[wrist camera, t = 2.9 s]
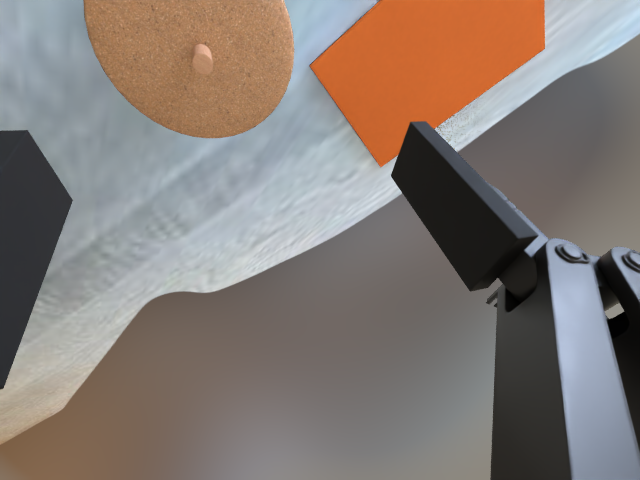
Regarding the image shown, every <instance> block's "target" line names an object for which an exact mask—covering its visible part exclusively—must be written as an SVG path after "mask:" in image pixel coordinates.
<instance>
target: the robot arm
mask: <svg viewBox="0 0 640 480" xmlns="http://www.w3.org/2000/svg"><path fill="white" fill-rule="evenodd" d="M391 177H392V178H393V180H394V181H395V183H396V184H397V186H398V187H399V189H400V190H401V191H402V193H403V194H404V196H405V197H406V199H407V200H408V201H409V203H410V204H411V206H412V208H413V209H414V210H415V212H416V213H417V215H418V216H419V218H420V219H421V221H422V222H423V224H424V225H425V226H426V228H427V229H428V231H429V232H430V234H431V235H432V237H433V238H434V239H435V241H436V243H437V244H438V245H439V247H440V248H441V250H442V251H443V252H444V254H445V256H446V257H447V259H448V260H449V261H450V263H451V264H452V266H453V267H454V268H455V270H456V271H457V273H458V275H459V276H460V277H461V279H462V280H463V282H464V283H465V285H466V286H467V288H468V289H469V291H475V290H479V289H484V288H488V287H489V286H490V285H491V284H492V283H493V282H494V281H495V280H496V278H499V279H500V281H501V282H502V283H503V284H502V285H501V286H500V287H499V288H498V289H497V290H496V291H495V292H494V293H493V294H492V295H491V296H490V297H489V298H488V299H487V302H486V303H487V304H490V303H491V302H492V301H493V300H494V299H495V298H498V300H497V303H496V304H495V305H494V307H497V326H496V353H495V354H496V355H495V377H494V403H493V404H494V405H493V431H492V455H491V480H640V253H638V252H637V251H635V250H631V249H628V248H625V247H615V248H612V249H611V250H610V251H608V252H607V253H606V254H605V255H603V256H602V257H601V256H593V255H587V254H586V253H585V252H584V251H583V250H582V249H581V248H579V247H578V246H577V245H575V244H573V243H571V242H569V241H567V240H563V239H559V238H554V239H553V238H552V239H550V240H549V239H548V238H547V237H546V236H545V235H544V234H543V233H542V232H541V231H540V230H539V229H538V228H537V227H536V226H535V225H534V224H533V223H532V222H531V221H530V220H529V219H528V218H527V217H526V216H525V215H524V214H523V213H522V212H521V211H520V210H517V207H516V206H515V205H514V204H513V203H512V202H509V199H508V198H506V196H505V195H504V194H503V193H502V192H501V191H499V190H498V189H497V188H495V187H493V186H492V185H490V184H489V183H487V182H486V181H485V180H484V179H483V178H482V177H481V176H480V175H479V174H478V173H477V172H476V171H475V170H474V169H473V168H472V167H471V166H470V165H469V164H468V163H467V162H466V161H465V160H464V159H463V158H462V157H461V156H460V155H459V154H458V153H457V152H456V151H455V150H454V149H453V148H452V147H451V146H450V145H449V144H448V143H447V142H446V141H445V140H444V139H443V138H442V137H441V136H440V135H439V134H438V133H437V132H436V131H435V130H434V129H433V128H432V127H431V126H430V125H429V124H428V123H427V122H426V121H417V122H410V124H409V127H408V129H407V132H406V135H405V138H404V141H403V143H402V146H401V149H400V152H399V154H398V157H397V160H396V163H395V166H394V168H393V171H392V174H391ZM72 201H73V200H72V198H71V197H70V195H69V194H68V192H67V190H66V189H65V187H64V186H63V184H62V183H61V181H60V180H59V178H58V177H57V175H56V173H55V172H54V170H53V169H52V167H51V166H50V164H49V163H48V161H47V160H46V158H45V156H44V155H43V153H42V152H41V150H40V149H39V147H38V146H37V144H36V142H35V141H34V139H33V138H32V136H31V135H30V133H29V132H28V130H19V131H0V389H3V388H4V385H5V383H6V380H7V377H8V375H9V372H10V369H11V366H12V364H13V361H14V358H15V356H16V353H17V350H18V347H19V345H20V342H21V339H22V337H23V334H24V331H25V328H26V326H27V323H28V320H29V318H30V315H31V312H32V309H33V307H34V304H35V301H36V299H37V296H38V293H39V290H40V288H41V285H42V282H43V280H44V277H45V274H46V271H47V269H48V266H49V263H50V261H51V258H52V255H53V252H54V250H55V247H56V244H57V242H58V239H59V236H60V234H61V231H62V228H63V225H64V223H65V220H66V217H67V215H68V212H69V209H70V206H71V204H72ZM618 303H620V304H621V306H622V308H623V309H624V312H623V313H621V314H619V315H617V316H616V317H614V318H611V319H609V318H607V316H606V315H605V312H604V311H606V310H608V309H609V308H611V307H613V306H614V305H616V304H618Z"/></svg>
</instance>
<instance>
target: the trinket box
mask: <svg viewBox="0 0 640 480" xmlns="http://www.w3.org/2000/svg"><path fill="white" fill-rule="evenodd" d="M84 15H85V22H86V26H87V31H88V35H89V39H90V41H91V44H92V47H93V49H94V52H95V55H96V57H97V59H98V60H99V62H100V64H101V66H102V68H103V70H104V72H105V73H106V75H107V76H108V78H109V79H110V80H111V82H112V83H113V85H114V86H115V87H116V89H117V90H118V91H119V92H120V93H121V94H122V95H123V96H124V97H125V98H126V100H127V101H128V102H130V103H131V104H132V105H133V106H134V107H135V108H136V109H138V110H139V111H140V112H141V113H143V114H144V115H146V116H147V117H148V118H150V119H151V120H153V121H154V122H156V123H158V124H160V125H162V126H164V127H166V128H168V129H171V130H173V131H176V132H178V133H181V134H185V135H189V136H193V137H201V138H223V137H229V136H234V135H237V134H240V133H243V132H245V131H247V130H249V129H251V128H253V127H255V126H257V125H258V124H259V123H261V122H262V121H264V120H265V119H266V118H267V117H268V116H269V115H270V114H271V113H272V112H273V111H274V109H275V108H276V107H277V105H278V104H279V103H280V101H281V99H282V97H283V95H284V94H285V92H286V89H287V86H288V84H289V81H290V78H291V73H292V68H293V59H294V41H293V31H292V27H291V22H290V17H289V14H288V11H287V8H286V5H285V3H284V0H84Z"/></svg>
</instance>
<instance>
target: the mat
mask: <svg viewBox="0 0 640 480" xmlns="http://www.w3.org/2000/svg"><path fill="white" fill-rule="evenodd" d="M544 49H545V15H544V0H380V1H379V2H378V3H377V4H376V5H375V6H373V7H372V8H371V9H370V10H369V11H368V12H367V13H366V14H365V15H364V16H363V17H362V18H360V19H359V20H358V21H357V22H356V23H355V24H354V25H353V26H352V27H351V28H350V29H349V30H347V31H346V32H345V33H344V34H343V35H342V36H341V37H340V38H339V39H338V40H337V41H335V42H334V43H333V44H332V45H331V46H330V47H329V48H328V49H327V50H326V51H325V52H324V53H322V54H321V55H320V56H319V57H318V58H317V59H316V60H315V61H314V62H313V63H312V64H311V65H310V67H311V69H312V70H313V72H314V73H315V74H316V76H317V77H318V79H319V80H320V82H321V83H322V84H323V86H324V87H325V89H326V90H327V91H328V93H329V94H330V96H331V97H332V99H333V100H334V101H335V103H336V104H337V106H338V107H339V109H340V110H341V111H342V113H343V114H344V116H345V117H346V119H347V120H348V121H349V123H350V124H351V126H352V127H353V129H354V130H355V131H356V133H357V134H358V136H359V137H360V138H361V140H362V141H363V143H364V144H365V146H366V147H367V148H368V150H369V151H370V153H371V154H372V156H373V157H374V158H375V160H376V161H377V163H378V164H379V166H380V167H382V166H383V165H385V164H386V163H387V162H389V161H390V160H392V159H393V158H394V157H396V156H397V155H398V154H399V152H400V149H401V146H402V143H403V141H404V138H405V135H406V132H407V129H408V127H409V124H410V122H417V121H426V122H427V123H428V124H429V125H430V126H431V127H432V128H433V129H434V128H436V127H437V126H439V125H440V124H441V123H443V122H444V121H446V120H447V119H448V118H450V117H451V116H452V115H454V114H455V113H457V112H458V111H459V110H461V109H462V108H463V107H465V106H466V105H468V104H469V103H470V102H472V101H473V100H475V99H476V98H477V97H479V96H480V95H481V94H483V93H484V92H486V91H487V90H488V89H490V88H491V87H493V86H494V85H495V84H497V83H498V82H499V81H501V80H502V79H504V78H505V77H506V76H508V75H509V74H510V73H512V72H513V71H515V70H516V69H517V68H519V67H520V66H522V65H523V64H524V63H526V62H527V61H528V60H530V59H531V58H533V57H534V56H535V55H537V54H538V53H540V52H541V51H542V50H544Z"/></svg>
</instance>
